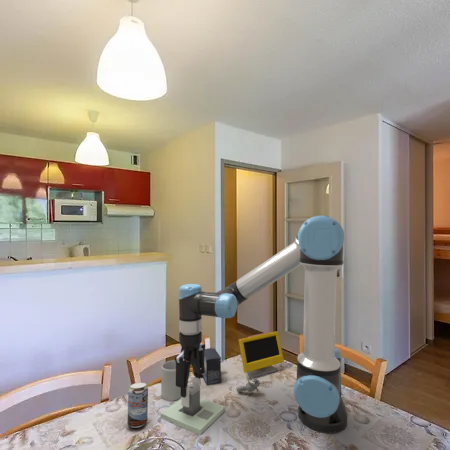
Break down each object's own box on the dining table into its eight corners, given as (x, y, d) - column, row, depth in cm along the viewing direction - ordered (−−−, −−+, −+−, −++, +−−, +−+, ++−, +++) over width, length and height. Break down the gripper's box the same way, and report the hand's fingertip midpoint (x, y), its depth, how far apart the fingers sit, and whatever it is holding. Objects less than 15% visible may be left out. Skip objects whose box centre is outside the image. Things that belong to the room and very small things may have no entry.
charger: (199, 413, 102) (199, 386, 102) (192, 419, 98) (192, 391, 98) (190, 409, 104) (190, 383, 104) (182, 415, 100) (182, 388, 100)
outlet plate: (225, 410, 102) (225, 406, 102) (200, 434, 90) (200, 429, 90) (187, 397, 111) (187, 393, 111) (160, 417, 99) (160, 413, 99)
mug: (184, 400, 109) (184, 369, 109) (160, 401, 108) (160, 370, 108) (185, 383, 121) (184, 355, 121) (163, 384, 120) (163, 356, 120)
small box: (200, 373, 129) (199, 348, 129) (214, 371, 131) (214, 347, 131) (205, 385, 119) (205, 359, 119) (221, 383, 121) (221, 356, 121)
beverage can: (127, 433, 91) (126, 392, 92) (128, 418, 99) (127, 381, 99) (148, 429, 93) (148, 389, 93) (147, 415, 100) (147, 378, 100)
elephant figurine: (241, 385, 119) (262, 380, 117) (243, 402, 115) (265, 397, 112) (231, 378, 112) (253, 371, 110) (232, 395, 108) (256, 389, 106)
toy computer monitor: (245, 381, 122) (245, 341, 122) (235, 373, 129) (235, 336, 129) (284, 369, 132) (284, 333, 132) (273, 362, 139) (272, 328, 139)
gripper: (197, 322, 111) (198, 386, 111) (163, 337, 96) (163, 411, 95) (214, 325, 107) (215, 391, 107) (181, 342, 92) (182, 419, 91)
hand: (191, 401), depth 101 cm, fingers open, 5 cm apart
